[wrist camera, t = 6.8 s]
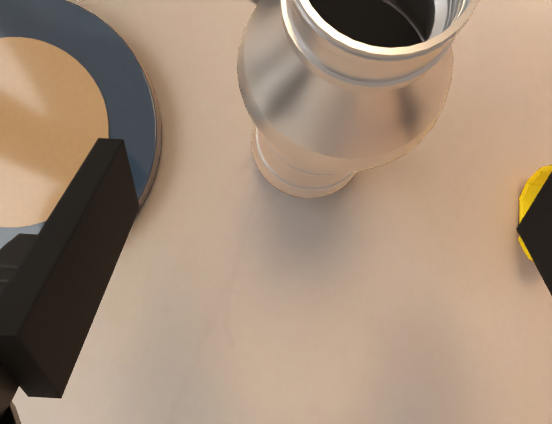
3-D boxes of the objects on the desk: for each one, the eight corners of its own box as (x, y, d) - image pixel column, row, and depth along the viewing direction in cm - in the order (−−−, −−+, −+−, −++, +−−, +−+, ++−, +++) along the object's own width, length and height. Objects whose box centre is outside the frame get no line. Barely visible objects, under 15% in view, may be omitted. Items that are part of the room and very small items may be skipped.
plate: (-171, 124, 28) (-193, 120, 26) (38, -54, 28) (27, -68, 27) (9, 331, 27) (-4, 337, 26) (218, 146, 28) (215, 142, 26)
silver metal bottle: (275, 87, 28) (281, -267, 8) (370, 126, 28) (621, -131, 8) (238, 177, 28) (145, 50, 8) (333, 216, 28) (494, 192, 8)
